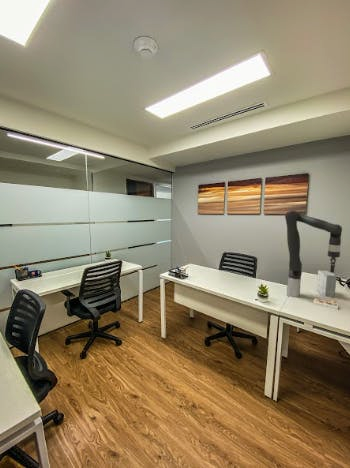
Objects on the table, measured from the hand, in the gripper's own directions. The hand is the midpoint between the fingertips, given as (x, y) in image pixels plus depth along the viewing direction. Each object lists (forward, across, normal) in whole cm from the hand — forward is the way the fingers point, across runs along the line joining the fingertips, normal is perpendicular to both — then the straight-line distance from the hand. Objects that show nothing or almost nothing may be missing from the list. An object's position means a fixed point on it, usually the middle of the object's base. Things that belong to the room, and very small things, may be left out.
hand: (332, 271), depth 158 cm
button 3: (+25, -5, -3) cm, 25 cm away
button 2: (+26, -5, +2) cm, 27 cm away
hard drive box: (+28, +23, +3) cm, 36 cm away
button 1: (+26, -5, +7) cm, 28 cm away
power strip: (+28, -5, +4) cm, 29 cm away
